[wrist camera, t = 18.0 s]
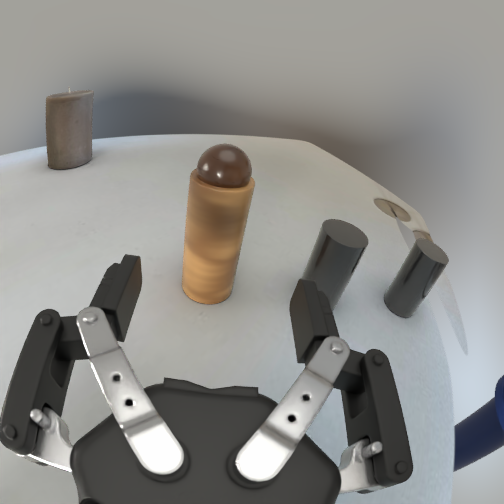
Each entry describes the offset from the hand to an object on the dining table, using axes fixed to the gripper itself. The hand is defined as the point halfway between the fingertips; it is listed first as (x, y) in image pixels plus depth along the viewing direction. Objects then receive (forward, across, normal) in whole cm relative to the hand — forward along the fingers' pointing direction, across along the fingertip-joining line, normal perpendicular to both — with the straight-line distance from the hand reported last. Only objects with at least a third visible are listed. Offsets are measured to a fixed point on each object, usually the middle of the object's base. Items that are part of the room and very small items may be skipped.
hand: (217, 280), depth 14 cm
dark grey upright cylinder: (+10, -22, +9) cm, 25 cm away
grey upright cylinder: (+9, -10, +9) cm, 17 cm away
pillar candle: (+37, +32, +10) cm, 50 cm away
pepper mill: (+9, 0, +9) cm, 13 cm away
